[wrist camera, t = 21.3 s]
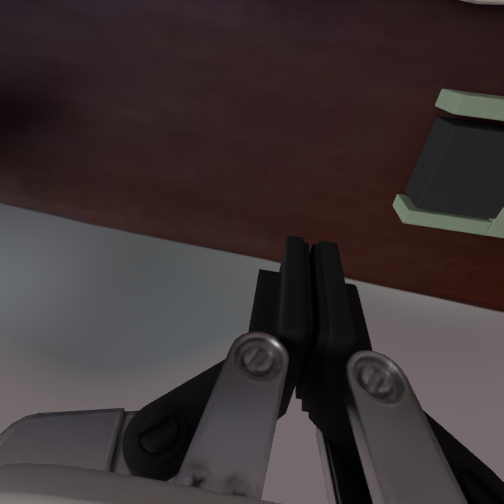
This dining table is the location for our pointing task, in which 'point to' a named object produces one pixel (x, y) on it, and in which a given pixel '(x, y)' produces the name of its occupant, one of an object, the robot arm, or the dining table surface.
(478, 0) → the plate
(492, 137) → the dark grey square block
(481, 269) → the dining table surface
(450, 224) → the bracket
